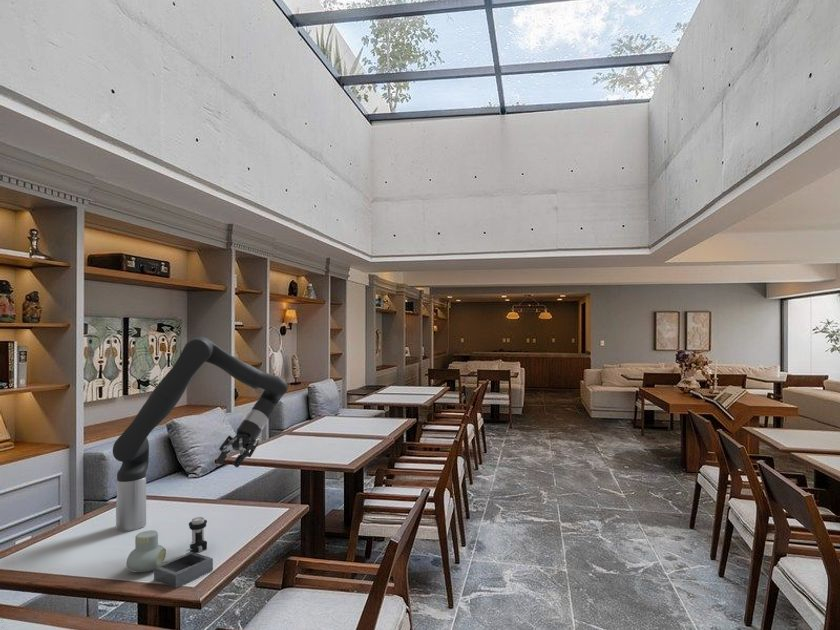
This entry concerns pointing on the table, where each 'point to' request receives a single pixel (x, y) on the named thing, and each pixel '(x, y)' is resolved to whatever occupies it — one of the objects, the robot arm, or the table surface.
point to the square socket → (175, 579)
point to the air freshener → (146, 552)
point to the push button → (197, 535)
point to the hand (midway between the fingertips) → (226, 464)
